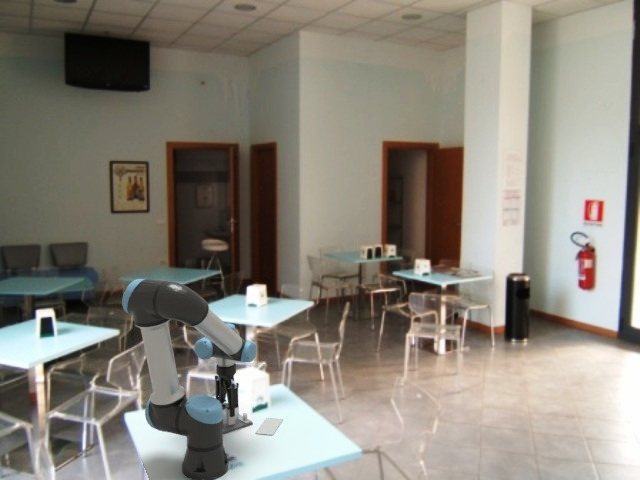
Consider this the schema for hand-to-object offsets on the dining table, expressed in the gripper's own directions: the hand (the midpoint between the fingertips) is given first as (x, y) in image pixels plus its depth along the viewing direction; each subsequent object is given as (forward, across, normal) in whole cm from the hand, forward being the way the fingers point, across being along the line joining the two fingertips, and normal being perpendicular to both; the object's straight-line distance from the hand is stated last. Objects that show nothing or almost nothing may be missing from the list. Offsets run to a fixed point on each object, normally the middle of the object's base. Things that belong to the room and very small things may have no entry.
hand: (227, 421), depth 227 cm
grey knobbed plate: (+1, 0, 0) cm, 1 cm away
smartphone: (+2, -12, -12) cm, 17 cm away
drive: (+1, 0, 0) cm, 1 cm away
